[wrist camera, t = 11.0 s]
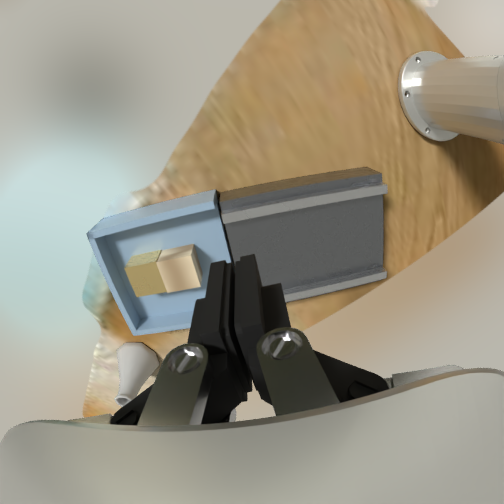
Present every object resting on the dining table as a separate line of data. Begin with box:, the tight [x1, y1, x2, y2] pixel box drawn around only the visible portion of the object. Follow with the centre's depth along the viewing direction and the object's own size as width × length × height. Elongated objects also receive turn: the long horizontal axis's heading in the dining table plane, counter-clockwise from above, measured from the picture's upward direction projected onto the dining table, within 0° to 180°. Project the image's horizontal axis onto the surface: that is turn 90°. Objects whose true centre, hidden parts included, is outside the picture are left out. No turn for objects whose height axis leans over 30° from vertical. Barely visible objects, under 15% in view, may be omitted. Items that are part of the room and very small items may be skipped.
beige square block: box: [156, 244, 203, 293], centre depth 33 cm, size 4×4×3 cm
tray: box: [87, 189, 235, 336], centre depth 34 cm, size 15×15×5 cm
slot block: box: [220, 167, 388, 303], centre depth 34 cm, size 18×14×5 cm
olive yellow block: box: [124, 250, 167, 297], centre depth 33 cm, size 4×4×3 cm
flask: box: [114, 343, 160, 407], centre depth 39 cm, size 7×7×10 cm
